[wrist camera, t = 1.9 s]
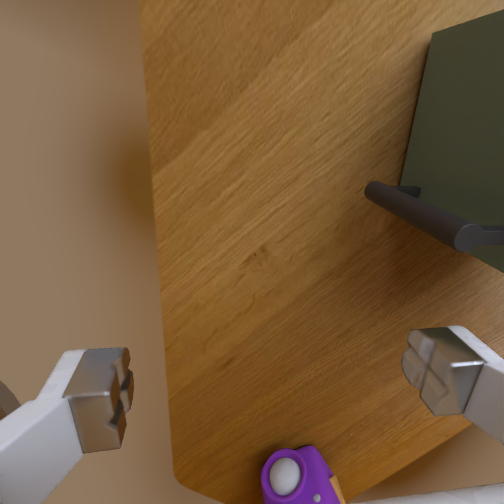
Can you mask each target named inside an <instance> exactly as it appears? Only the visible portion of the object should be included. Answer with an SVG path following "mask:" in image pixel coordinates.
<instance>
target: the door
mask: <svg viewBox="0 0 504 504" xmlns="http://www.w3.org/2000/svg"><path fill="white" fill-rule="evenodd" d="M364 194H365V197H366V198H367V199H368V200H370V201H372V202H374V203H375V204H377V205H379V206H381V207H382V208H384V209H386V210H387V211H389V212H391V213H393V214H394V215H396V216H398V217H400V218H401V219H403V220H405V221H406V222H408V223H410V224H412V225H413V226H415V227H417V228H419V229H420V230H422V231H424V232H426V233H427V234H429V235H431V236H432V237H434V238H436V239H438V240H439V241H441V242H443V243H445V244H446V245H448V246H450V247H451V248H453V249H455V250H457V251H459V252H467V253H469V254H471V255H472V256H474V257H476V258H478V259H479V260H481V261H483V262H485V263H487V264H488V265H490V266H492V267H494V268H496V269H497V270H499V271H501V272H503V273H504V9H503V10H500V11H497V12H494V13H491V14H488V15H485V16H482V17H479V18H476V19H473V20H470V21H467V22H464V23H461V24H458V25H455V26H452V27H449V28H446V29H443V30H440V31H437V32H434V33H433V34H432V38H431V43H430V47H429V52H428V57H427V61H426V66H425V71H424V75H423V80H422V85H421V89H420V94H419V99H418V103H417V108H416V113H415V117H414V122H413V127H412V131H411V136H410V141H409V145H408V150H407V155H406V159H405V164H404V169H403V173H402V178H401V183H400V186H388V185H386V184H383V183H381V182H379V181H372V182H370V183H369V184H368V185H367V186H366V188H365V191H364Z"/></svg>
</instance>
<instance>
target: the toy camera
mask: <svg viewBox="0 0 504 504" xmlns="http://www.w3.org/2000/svg"><path fill="white" fill-rule="evenodd" d="M261 485H262V493H263V500H264V504H345V501H344V498H343V495H342V492H341V489H340V486H339V483H338V480H337V478H336V476H335V475H333V473H332V472H331V470H330V468H329V467H328V465H327V464H326V462H325V461H324V459H323V457H322V456H321V454H320V453H319V452H318V450H317V449H316V448H315V447H314V446H311V445H309V446H305V447H302V448H299V449H297V450H292V449H288V448H284V449H280V450H278V451H276V452H274V453H273V454H272V455H271V456H270V457H269V458H268V460H267V461H266V463H265V465H264V466H263V467H262V468H261Z"/></svg>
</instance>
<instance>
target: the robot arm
mask: <svg viewBox="0 0 504 504" xmlns="http://www.w3.org/2000/svg"><path fill="white" fill-rule="evenodd" d="M406 341H407V343H408V344H409V347H408V348H407V349H406V350H405V351H404V352H403V354H402V359H401V365H402V371H403V373H404V375H405V378H406V379H407V380H408V382H409V383H410V384H411V385H412V386H414V387H416V388H417V389H419V390H420V398H421V399H422V401H423V402H424V403H425V405H426V406H427V407H428V409H429V410H430V411H431V413H432V414H433V415H434V416H447V415H461V414H463V416H464V417H465V418H467V419H468V420H469V421H471V422H472V423H474V424H475V425H476V426H478V427H479V428H481V429H482V430H483V431H485V432H486V433H488V434H489V435H491V436H492V437H494V438H495V439H496V440H498V441H499V442H501V443H502V444H503V445H504V360H503V359H502V358H501V357H500V356H498V355H497V354H496V353H495V352H494V351H492V350H491V349H490V348H489V347H488V346H486V345H485V344H484V343H483V342H482V341H480V340H479V339H478V338H477V337H476V336H474V335H473V334H472V333H471V332H470V331H468V330H467V329H466V328H465V327H462V326H460V325H456V326H444V327H437V328H422V329H411V331H410V332H409V333H408V336H407V339H406ZM129 362H130V355H129V350H128V349H127V348H126V347H125V348H103V349H102V348H100V349H87V350H86V349H82V350H67V351H66V352H64V353H63V354H62V356H61V357H60V359H59V361H58V362H57V364H56V366H55V368H54V369H53V371H52V373H51V374H50V376H49V378H48V380H47V381H46V383H45V384H44V386H43V388H42V390H41V391H40V393H39V395H38V396H37V398H36V400H32V401H27V402H26V403H25V404H23V405H22V406H20V407H19V408H18V409H16V410H15V411H13V412H12V413H10V414H9V415H8V416H6V417H5V418H3V419H2V420H0V504H42V503H43V502H44V501H45V500H46V498H47V497H48V496H49V495H50V494H51V493H52V491H53V490H54V489H55V488H56V487H57V486H58V484H59V483H60V482H61V481H62V480H63V479H64V477H65V476H66V475H67V474H68V473H69V472H70V471H71V469H72V468H73V467H74V466H75V465H76V464H77V462H78V461H79V460H80V459H81V458H82V456H83V453H92V452H99V451H107V450H114V449H120V447H121V444H122V440H123V436H124V432H125V428H126V418H125V414H126V413H127V412H128V411H129V410H130V409H131V404H132V400H133V390H134V379H133V372H132V371H130V370H129V369H128V366H129ZM349 504H504V482H503V483H496V484H489V485H481V486H474V487H466V488H459V489H453V490H444V491H438V492H430V493H423V494H415V495H408V496H401V497H393V498H386V499H379V500H371V501H364V502H357V503H349Z"/></svg>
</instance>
